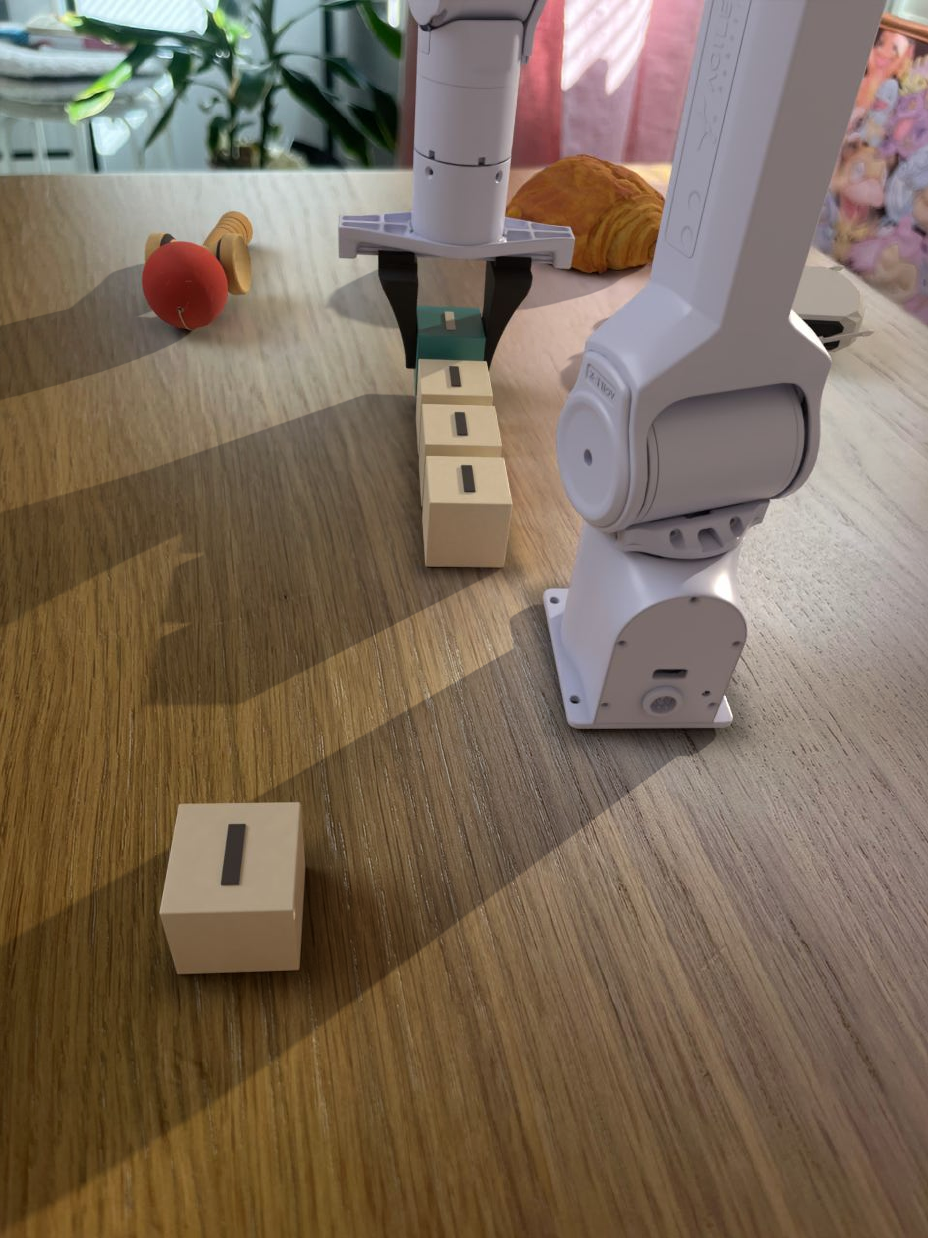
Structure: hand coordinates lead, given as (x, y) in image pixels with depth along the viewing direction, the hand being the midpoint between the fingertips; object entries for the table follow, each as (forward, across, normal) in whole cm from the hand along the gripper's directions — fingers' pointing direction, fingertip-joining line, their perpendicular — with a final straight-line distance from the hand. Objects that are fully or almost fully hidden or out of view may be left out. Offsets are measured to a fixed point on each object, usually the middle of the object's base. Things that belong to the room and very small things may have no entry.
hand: (447, 362), depth 63 cm
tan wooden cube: (+2, 0, +11) cm, 11 cm away
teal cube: (+1, 0, 0) cm, 1 cm away
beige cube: (+2, 0, +16) cm, 17 cm away
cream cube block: (+2, 0, +6) cm, 6 cm away
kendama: (+3, +18, -15) cm, 24 cm away
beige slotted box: (+2, +10, +40) cm, 41 cm away
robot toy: (+3, -26, -11) cm, 28 cm away
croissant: (+3, -14, -28) cm, 31 cm away
